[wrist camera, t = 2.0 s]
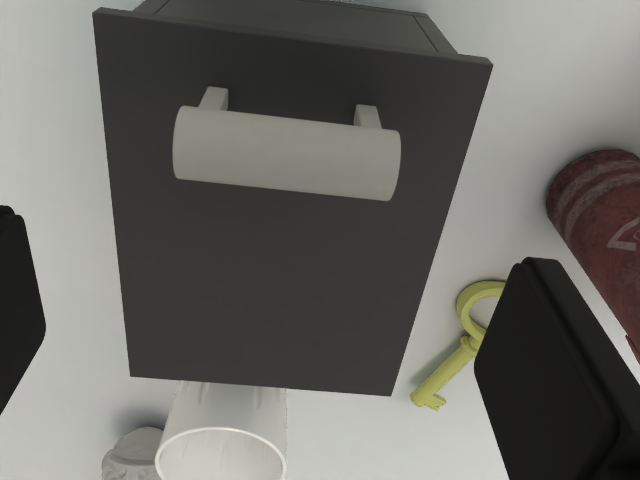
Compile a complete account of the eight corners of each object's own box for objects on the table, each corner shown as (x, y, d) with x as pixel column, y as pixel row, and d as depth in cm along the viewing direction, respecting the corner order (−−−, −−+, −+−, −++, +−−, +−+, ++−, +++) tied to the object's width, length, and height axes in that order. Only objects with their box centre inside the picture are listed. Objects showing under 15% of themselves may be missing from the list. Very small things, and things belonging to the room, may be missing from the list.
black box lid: (100, 6, 17) (21, 56, 13) (487, 57, 18) (547, 121, 14) (134, 364, 26) (96, 468, 22) (389, 384, 28) (404, 488, 23)
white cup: (271, 297, 38) (260, 416, 30) (305, 370, 42) (303, 492, 34) (168, 321, 39) (130, 442, 31) (211, 390, 43) (188, 512, 35)
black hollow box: (171, -22, 26) (102, 32, 18) (427, 13, 27) (480, 79, 19) (178, 242, 35) (134, 363, 27) (371, 261, 36) (389, 383, 28)
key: (403, 387, 43) (407, 409, 42) (470, 271, 37) (478, 291, 35) (483, 403, 45) (491, 425, 43) (563, 293, 38) (575, 314, 36)
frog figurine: (188, 407, 44) (170, 487, 39) (187, 457, 48) (170, 536, 43) (113, 401, 44) (83, 481, 38) (118, 451, 48) (91, 531, 42)
